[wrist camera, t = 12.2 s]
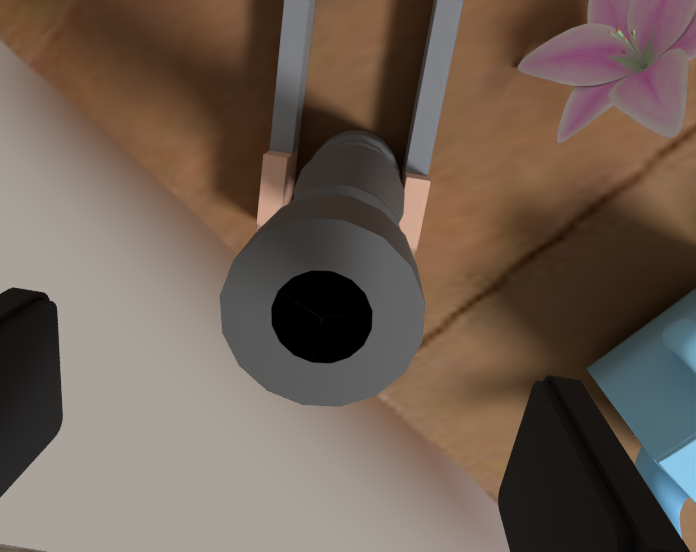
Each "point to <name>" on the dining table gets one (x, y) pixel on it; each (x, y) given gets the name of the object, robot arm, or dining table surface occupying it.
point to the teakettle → (659, 400)
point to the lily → (622, 63)
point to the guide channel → (291, 100)
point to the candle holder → (329, 282)
